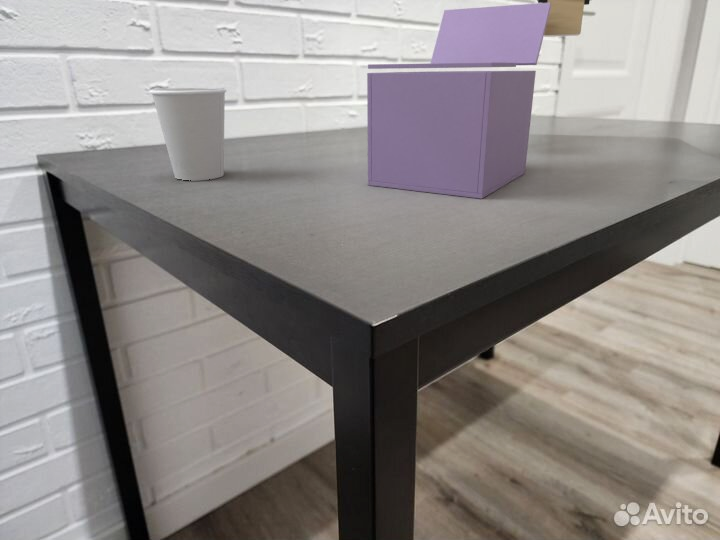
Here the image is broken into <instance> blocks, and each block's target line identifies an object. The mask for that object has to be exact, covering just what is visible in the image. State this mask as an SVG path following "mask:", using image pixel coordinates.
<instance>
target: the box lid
mask: <svg viewBox="0 0 720 540" xmlns="http://www.w3.org/2000/svg"><path fill="white" fill-rule="evenodd" d="M550 8H551V2H550V3H538V2H537V3H536V2H535V3H526V4H525V3H524V4H511V5H497V6H484V7H483V6H481V7H470V8H456V9H455V8H454V9H444V10H443V14H442V18H441V21H440V26H439V29H438V33H437V37H436V40H435V45H434V49H433V52H432V56H431V60H430V63H483V62H504V63H516V66H537V64H538V62H539V56H540V51H541V48H542V44H543V40H544V38H545V37H544V33H545V28H546V24H547V20H548V16H549V12H550Z"/></svg>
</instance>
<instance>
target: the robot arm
mask: <svg viewBox="0 0 720 540" xmlns="http://www.w3.org/2000/svg"><path fill="white" fill-rule="evenodd" d="M536 1H537V3H547V1H548V0H536ZM590 2H591V0H585V1H584V6H587V5H590Z"/></svg>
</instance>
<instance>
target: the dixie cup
mask: <svg viewBox="0 0 720 540" xmlns="http://www.w3.org/2000/svg"><path fill="white" fill-rule="evenodd" d="M226 92H227V89H226V88H225V87H215V86H214V87H212V86H211V87H209V86H207V87H206V86H205V87H204V86H203V87H201V86H200V87H198V86H197V87H166V88H163V87H162V88H153V89H151V90H149V94H150V95H152V99H153V102H154V106H155V109H156V113H157V117H158V120H159V121H158V122H159V124H160V128H161V131H162V135H163V139H164V143H165V146H166V150H167V154H168V157H169V160H170V164H171V168H172V171H173V175H174V178H177V179H182V180H181V181H183V180H189V181H188V182H197V181H209V179H210V180H215V179H219V178H221V177H223V176H224V173H225V171H224V170H225V103H226V102H225V101H226V100H225V99H226V97H225V96H226V95H225V94H226ZM177 179H176V180H177ZM190 180H191V181H190Z"/></svg>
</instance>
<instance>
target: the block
mask: <svg viewBox="0 0 720 540" xmlns="http://www.w3.org/2000/svg"><path fill="white" fill-rule="evenodd" d="M584 1H585V0H548V1H547V3H550V2H551V8H550V12H549V16H548V20H547V24H546V28H545V33H544V37H543V38H545V37H546V38H547V37H572V36H573V37H574V36H579V35H580V34H581V32H582V24H583V16H584V9H585V5H584Z"/></svg>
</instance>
